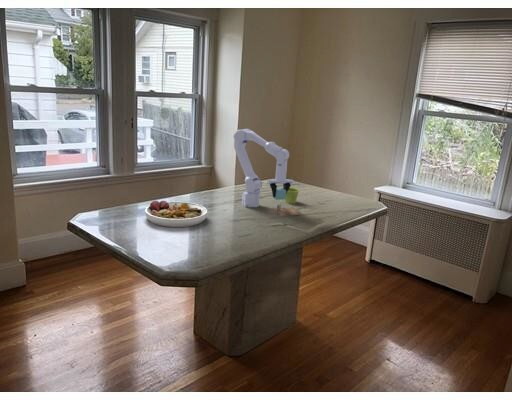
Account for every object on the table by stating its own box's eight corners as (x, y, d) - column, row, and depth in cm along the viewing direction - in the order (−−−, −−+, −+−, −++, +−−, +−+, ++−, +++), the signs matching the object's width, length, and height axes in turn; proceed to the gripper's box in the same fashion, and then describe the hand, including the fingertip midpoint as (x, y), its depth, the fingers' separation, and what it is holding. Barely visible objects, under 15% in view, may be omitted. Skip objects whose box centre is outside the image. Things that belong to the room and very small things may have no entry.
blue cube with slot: (276, 199, 227) (277, 190, 226) (272, 197, 232) (273, 187, 230) (285, 199, 229) (286, 190, 227) (281, 196, 234) (282, 187, 232)
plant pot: (298, 206, 246) (299, 192, 244) (282, 205, 246) (283, 191, 244) (297, 202, 255) (298, 188, 253) (281, 201, 255) (283, 187, 253)
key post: (276, 210, 231) (276, 204, 230) (275, 209, 232) (276, 203, 231) (280, 210, 232) (281, 204, 231) (279, 209, 233) (280, 203, 232)
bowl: (215, 215, 220) (216, 201, 218) (192, 233, 192) (192, 216, 190) (163, 207, 228) (163, 193, 226) (133, 223, 200) (133, 207, 198)
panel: (277, 217, 223) (277, 215, 223) (268, 210, 235) (268, 208, 234) (303, 216, 228) (303, 214, 228) (293, 209, 240) (293, 207, 239)
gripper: (271, 173, 220) (269, 198, 224) (296, 173, 225) (294, 198, 229) (266, 171, 227) (264, 195, 230) (291, 170, 232) (289, 194, 235)
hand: (279, 196), depth 230 cm, fingers closed on blue cube with slot, 5 cm apart
